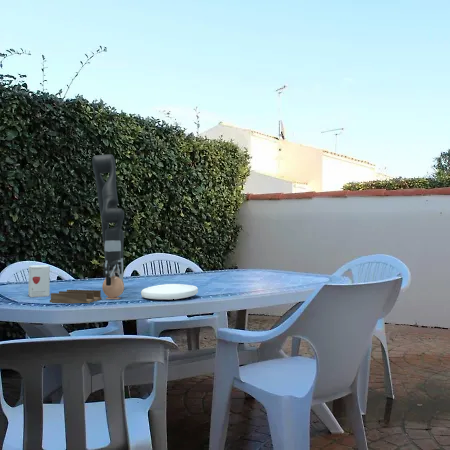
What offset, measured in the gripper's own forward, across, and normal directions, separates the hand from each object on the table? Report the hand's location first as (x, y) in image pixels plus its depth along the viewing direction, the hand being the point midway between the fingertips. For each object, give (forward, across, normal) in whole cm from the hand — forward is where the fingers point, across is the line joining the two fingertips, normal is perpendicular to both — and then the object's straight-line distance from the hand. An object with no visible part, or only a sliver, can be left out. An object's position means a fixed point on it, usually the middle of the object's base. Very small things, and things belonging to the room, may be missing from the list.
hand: (112, 284), depth 228 cm
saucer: (+7, 0, 0) cm, 7 cm away
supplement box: (+7, -2, -41) cm, 41 cm away
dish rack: (+7, +11, -13) cm, 18 cm away
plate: (+7, -10, +25) cm, 28 cm away
